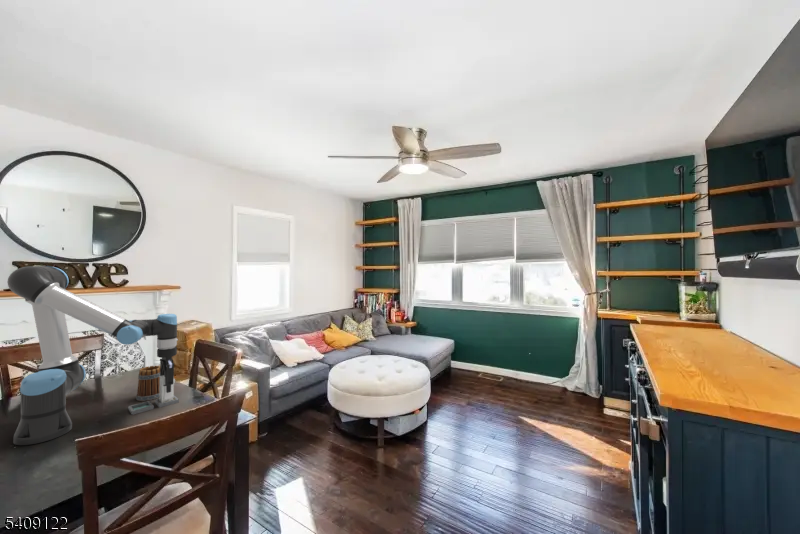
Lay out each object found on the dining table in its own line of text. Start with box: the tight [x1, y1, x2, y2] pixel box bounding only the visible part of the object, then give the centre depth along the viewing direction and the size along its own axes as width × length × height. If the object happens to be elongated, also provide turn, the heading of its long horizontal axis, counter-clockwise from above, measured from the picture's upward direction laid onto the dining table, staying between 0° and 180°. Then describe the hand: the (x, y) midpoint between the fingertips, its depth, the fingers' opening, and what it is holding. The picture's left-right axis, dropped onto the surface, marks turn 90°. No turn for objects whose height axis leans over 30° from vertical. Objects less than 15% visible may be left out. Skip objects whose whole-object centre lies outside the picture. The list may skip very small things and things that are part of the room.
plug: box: [158, 372, 176, 403], centre depth 153 cm, size 5×4×14 cm
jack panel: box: [127, 394, 180, 415], centre depth 149 cm, size 18×11×2 cm, turn 138°
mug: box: [135, 363, 160, 402], centre depth 161 cm, size 16×11×15 cm
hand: (166, 397), depth 153 cm, fingers closed on plug, 4 cm apart
